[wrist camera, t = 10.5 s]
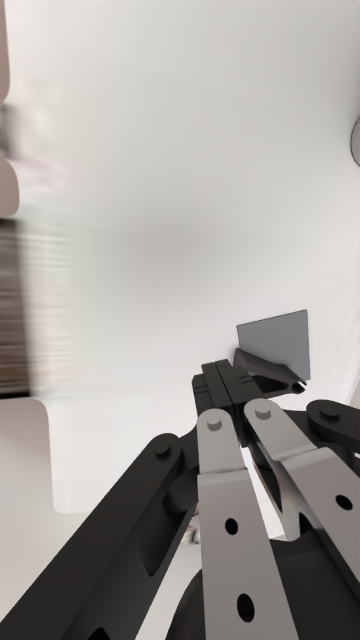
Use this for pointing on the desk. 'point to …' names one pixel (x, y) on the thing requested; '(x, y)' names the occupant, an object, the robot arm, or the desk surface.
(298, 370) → the mat
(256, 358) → the phone stand
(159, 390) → the desk surface
